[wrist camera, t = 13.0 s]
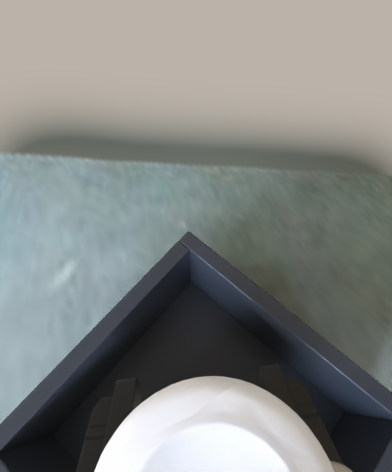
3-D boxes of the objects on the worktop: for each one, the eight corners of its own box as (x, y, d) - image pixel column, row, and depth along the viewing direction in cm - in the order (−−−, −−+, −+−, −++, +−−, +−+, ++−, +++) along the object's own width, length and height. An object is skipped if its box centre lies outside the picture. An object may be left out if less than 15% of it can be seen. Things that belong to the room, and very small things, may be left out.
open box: (190, 270, 24) (188, 230, 18) (356, 409, 20) (426, 419, 14) (39, 434, 20) (-32, 456, 14) (214, 646, 16) (226, 808, 10)
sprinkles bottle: (236, 494, 16) (358, 807, 4) (147, 469, 17) (21, 688, 5) (250, 394, 18) (364, 408, 6) (170, 374, 19) (124, 348, 6)
